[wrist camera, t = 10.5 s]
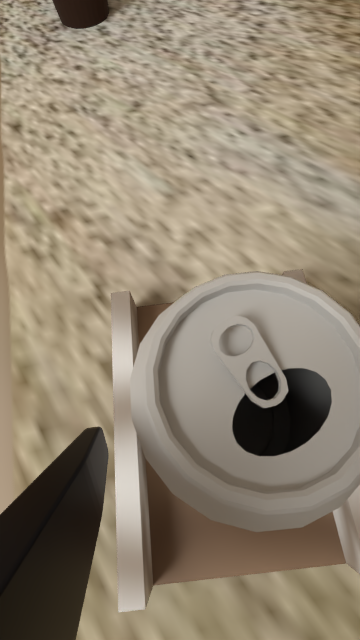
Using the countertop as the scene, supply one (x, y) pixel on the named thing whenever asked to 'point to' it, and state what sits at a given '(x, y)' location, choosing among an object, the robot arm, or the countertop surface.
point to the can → (252, 401)
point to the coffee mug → (81, 12)
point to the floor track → (183, 520)
